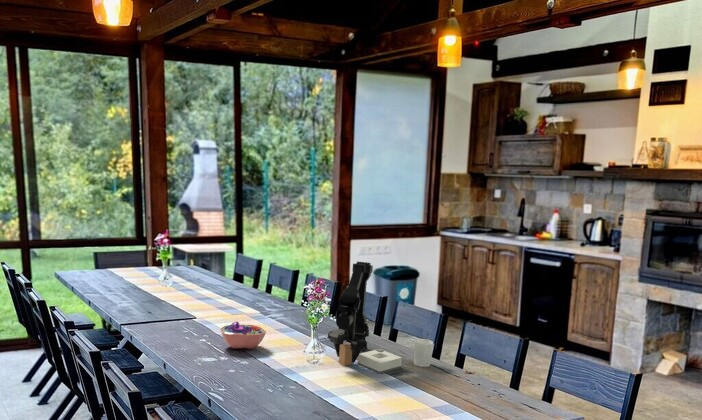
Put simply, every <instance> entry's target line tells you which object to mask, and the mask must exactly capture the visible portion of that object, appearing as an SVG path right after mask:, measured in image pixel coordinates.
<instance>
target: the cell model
mask: <svg viewBox="0 0 702 420" xmlns="http://www.w3.org/2000/svg"><path fill="white" fill-rule="evenodd" d="M219 331H220V332H221V335H222V339H223V341H224V342H225V343H226V344H227V345H228V346H229V347H230V348H232V349H235V350H236V349H247V350H249V349H250V350H251V349H254V348H257V346H258V345H260V344H261V343H262V341H263V340H264V338H265V336H266V333H267V331H266V330H265V329H264V328H263V327H261V326H258V325H254V324H240V323H239V321H234V322H232V323H231V324H226V325H224V326H221V328H220V330H219Z"/></svg>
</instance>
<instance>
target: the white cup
mask: <svg viewBox="0 0 702 420" xmlns="http://www.w3.org/2000/svg"><path fill="white" fill-rule="evenodd" d="M413 347H414V349H413V350H414V352H413V353H414V354H413V357H414V358H413V360H414V361H413V363H414V365H415V366H416V367H421V368H428V367H430V366H431V361H432V360H431V359H432V355H433V349H434V348H433V347H434V342H433V340H430V339H426V338H417V339H415V340H414V346H413Z"/></svg>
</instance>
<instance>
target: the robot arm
mask: <svg viewBox="0 0 702 420" xmlns="http://www.w3.org/2000/svg"><path fill="white" fill-rule="evenodd" d="M373 270H374V265H373V264H371V262H367V261H366V262H365V261H356V263H352V269H351V272H352V273H351V277H350V280H349V283H348V286H347V287H346V288H345V289H344V290H343V292H342V294H340V297H339V301H338V307H337V311H340V313H339V315H338V316H337V317H336V320H335V324H336V326H337V328H338V329H336V330H331V331H330V330H329V332H328V333H327V339H329V341H330V342H331V343H332V344H333V345H334V349H335V353H336V356H337V358H339V351H340V344H344V342H346V343H349V344H350V345H351V347H352V348H350V349H351V350H352V364H354V363H356V361H357V360H358V355H359V354H360V353H362V351H363V350H365V349H366V350H367V349H368V341H366V338H367V337H369V336H370V328H369V324H368V318H367V317H366V315H365V307H366V296H367V295H366V294H367V285H368V284H367V283H368V281H369V279H370V278H371V277H372V273H373Z"/></svg>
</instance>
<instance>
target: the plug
mask: <svg viewBox="0 0 702 420" xmlns="http://www.w3.org/2000/svg"><path fill="white" fill-rule="evenodd" d="M350 344H351V343H349V342H346V343H343V344H340V351H339V357H338V364H339V365H341V366H344V367H345V366H348V365H349V366H350V365H353V363H352V350H351V349H350V348H352V347H351V345H350Z"/></svg>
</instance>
